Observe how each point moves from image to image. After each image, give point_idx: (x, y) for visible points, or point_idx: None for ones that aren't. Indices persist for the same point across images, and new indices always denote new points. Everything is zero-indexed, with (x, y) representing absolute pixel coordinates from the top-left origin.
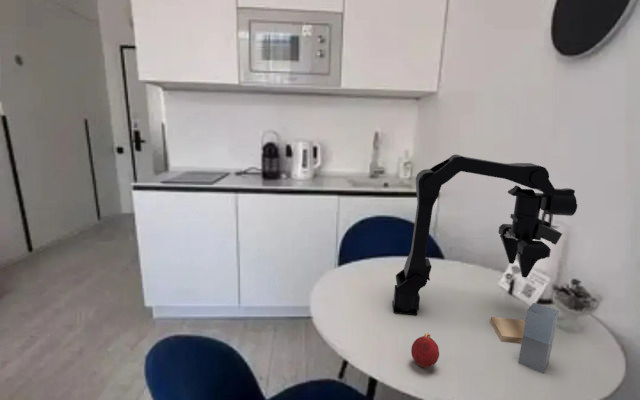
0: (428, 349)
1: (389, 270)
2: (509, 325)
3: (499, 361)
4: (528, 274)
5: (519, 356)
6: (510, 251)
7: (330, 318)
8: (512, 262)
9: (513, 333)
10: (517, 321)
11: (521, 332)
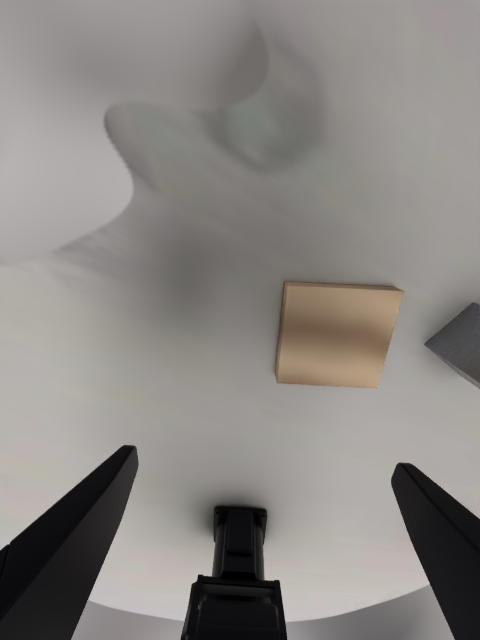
0: None
1: None
2: (322, 350)
3: (446, 409)
4: (440, 487)
5: (473, 384)
6: (68, 600)
7: (293, 610)
8: (132, 459)
9: (366, 356)
10: (297, 317)
11: (361, 331)
